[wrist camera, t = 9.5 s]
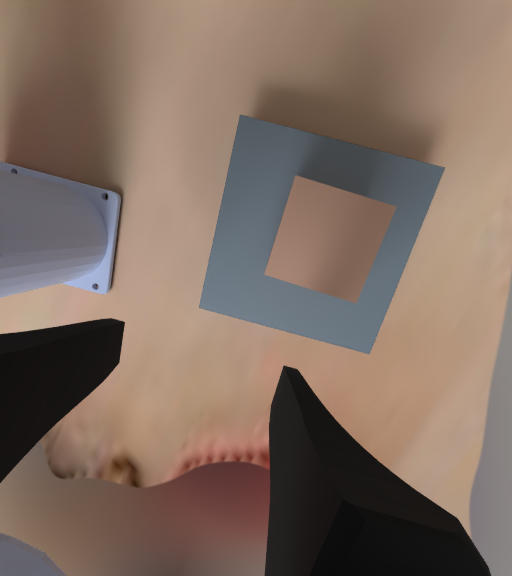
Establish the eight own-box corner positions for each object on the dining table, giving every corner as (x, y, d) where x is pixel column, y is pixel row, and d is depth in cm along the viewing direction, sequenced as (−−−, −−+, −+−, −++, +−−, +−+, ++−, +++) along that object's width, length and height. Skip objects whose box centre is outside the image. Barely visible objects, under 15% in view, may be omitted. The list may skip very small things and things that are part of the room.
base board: (210, 296, 20) (198, 307, 17) (246, 134, 17) (240, 114, 14) (355, 336, 20) (369, 354, 17) (416, 178, 17) (445, 167, 14)
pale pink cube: (267, 262, 16) (264, 274, 12) (289, 191, 15) (295, 175, 11) (334, 283, 16) (356, 303, 12) (361, 213, 15) (396, 206, 11)
